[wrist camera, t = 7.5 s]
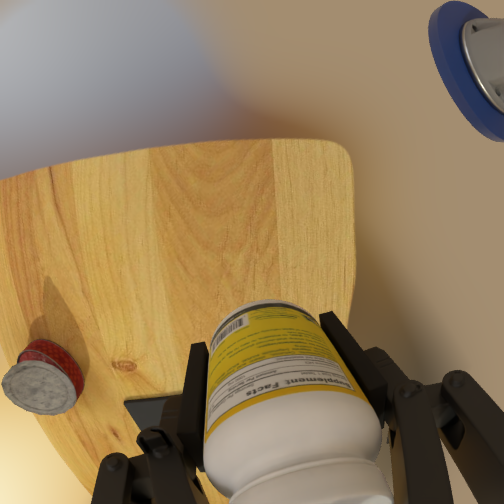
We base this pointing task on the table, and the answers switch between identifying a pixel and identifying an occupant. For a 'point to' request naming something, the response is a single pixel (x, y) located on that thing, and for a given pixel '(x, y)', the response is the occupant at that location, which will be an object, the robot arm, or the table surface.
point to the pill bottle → (287, 414)
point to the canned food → (44, 379)
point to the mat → (146, 411)
